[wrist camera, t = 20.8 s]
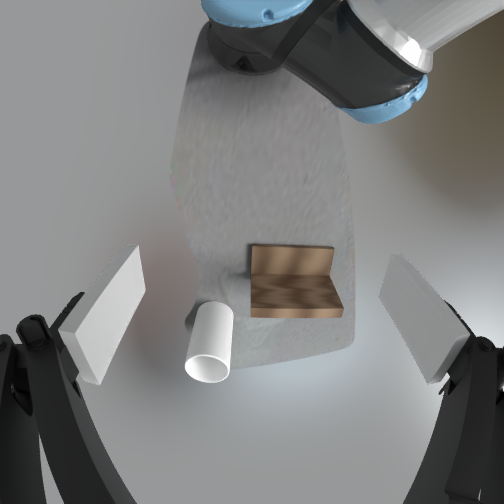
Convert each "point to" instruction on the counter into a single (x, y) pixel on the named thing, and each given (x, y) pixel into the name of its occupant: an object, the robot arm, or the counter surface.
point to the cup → (210, 343)
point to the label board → (293, 282)
